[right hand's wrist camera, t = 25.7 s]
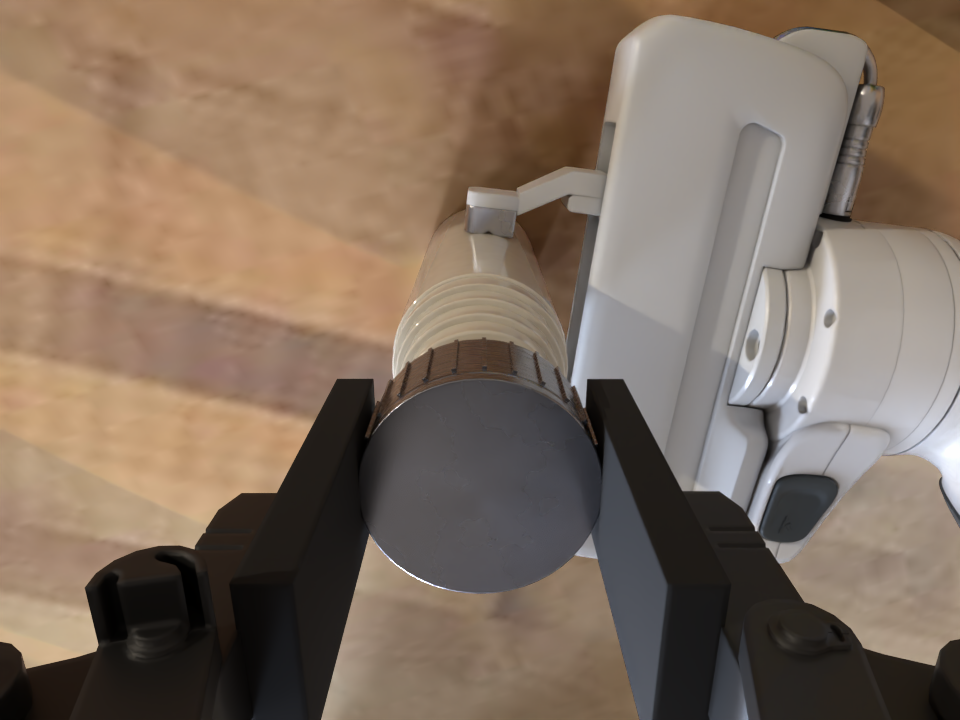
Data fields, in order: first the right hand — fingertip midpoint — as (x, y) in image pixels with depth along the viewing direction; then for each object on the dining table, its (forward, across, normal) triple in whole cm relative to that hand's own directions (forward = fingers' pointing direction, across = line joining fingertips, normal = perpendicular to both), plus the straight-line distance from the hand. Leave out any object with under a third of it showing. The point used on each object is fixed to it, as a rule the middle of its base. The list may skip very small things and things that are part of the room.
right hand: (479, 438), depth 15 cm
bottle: (+18, 0, 0) cm, 18 cm away
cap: (-2, 0, 0) cm, 2 cm away
